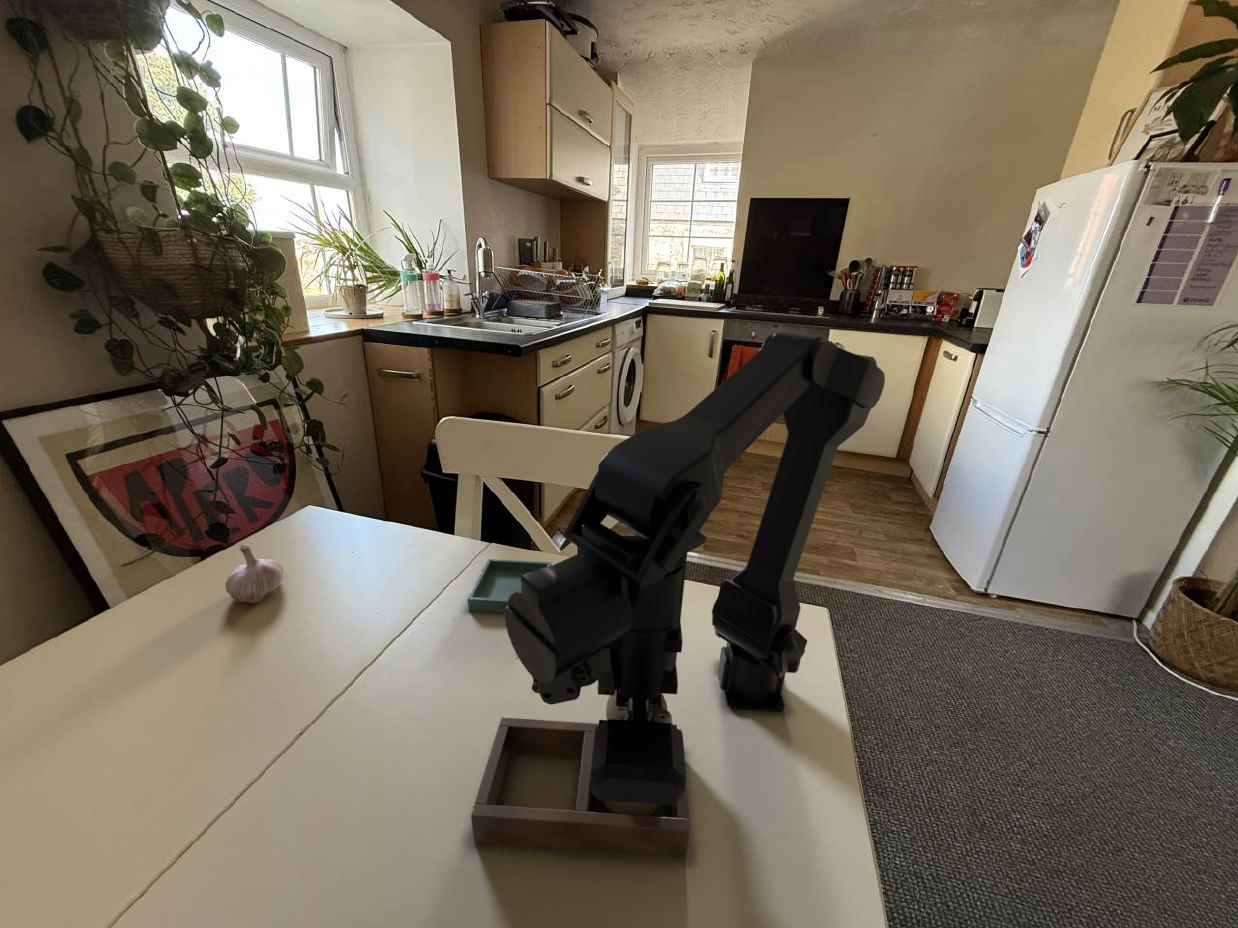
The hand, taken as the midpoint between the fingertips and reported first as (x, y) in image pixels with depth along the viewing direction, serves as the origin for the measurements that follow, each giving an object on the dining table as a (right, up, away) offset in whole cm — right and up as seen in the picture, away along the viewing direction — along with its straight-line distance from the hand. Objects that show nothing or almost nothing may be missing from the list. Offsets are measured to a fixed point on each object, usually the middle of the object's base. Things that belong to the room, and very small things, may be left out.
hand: (634, 750), depth 44 cm
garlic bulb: (-53, +7, +28) cm, 60 cm away
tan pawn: (0, -4, +2) cm, 5 cm away
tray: (-17, +6, +30) cm, 35 cm away
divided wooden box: (-4, -6, +3) cm, 7 cm away
